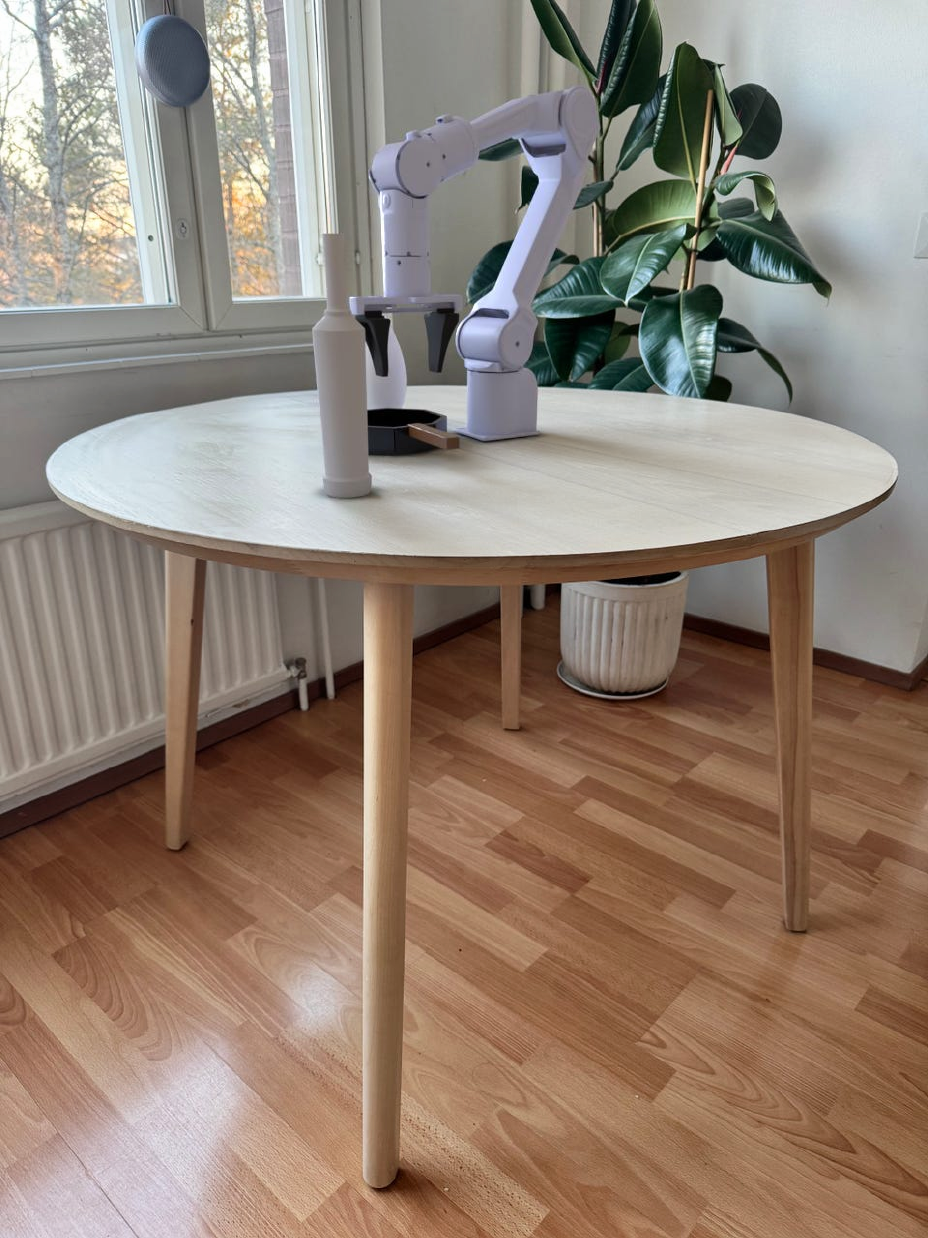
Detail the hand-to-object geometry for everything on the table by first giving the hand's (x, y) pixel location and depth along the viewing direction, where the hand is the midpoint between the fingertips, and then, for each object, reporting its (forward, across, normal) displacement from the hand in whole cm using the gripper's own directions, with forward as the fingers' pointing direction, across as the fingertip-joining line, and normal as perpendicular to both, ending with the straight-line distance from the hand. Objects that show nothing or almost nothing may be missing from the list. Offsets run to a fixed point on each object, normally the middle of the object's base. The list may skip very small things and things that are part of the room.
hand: (409, 373), depth 105 cm
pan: (+9, -1, -1) cm, 10 cm away
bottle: (+10, -16, -16) cm, 25 cm away
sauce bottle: (+10, +4, +17) cm, 20 cm away
